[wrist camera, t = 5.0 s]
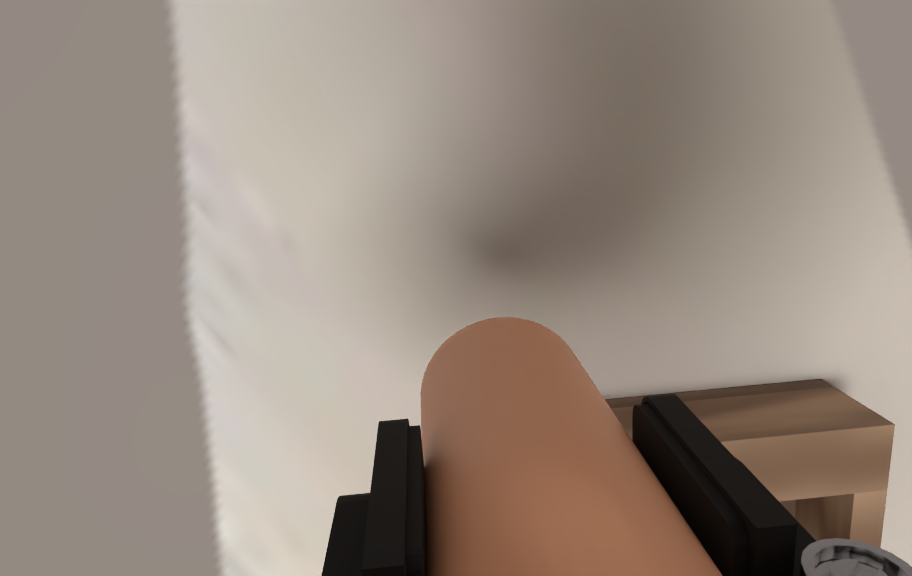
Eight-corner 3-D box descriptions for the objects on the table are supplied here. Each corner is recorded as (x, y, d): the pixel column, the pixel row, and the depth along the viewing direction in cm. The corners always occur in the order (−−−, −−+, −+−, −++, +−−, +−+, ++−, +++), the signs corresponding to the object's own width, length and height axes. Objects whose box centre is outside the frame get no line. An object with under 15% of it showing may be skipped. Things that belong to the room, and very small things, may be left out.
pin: (413, 325, 15) (408, 1122, 3) (582, 310, 15) (1185, 1011, 3) (427, 475, 16) (462, 1485, 4) (584, 460, 16) (1043, 1391, 4)
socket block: (488, 411, 31) (502, 463, 26) (821, 379, 32) (894, 424, 27) (501, 612, 34) (516, 693, 29) (804, 579, 35) (867, 652, 30)
